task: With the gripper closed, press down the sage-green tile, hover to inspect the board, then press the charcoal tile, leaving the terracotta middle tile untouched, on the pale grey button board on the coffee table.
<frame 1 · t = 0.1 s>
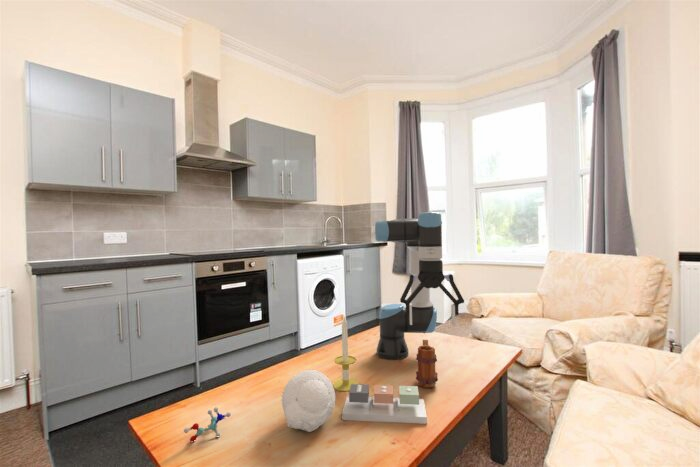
hand: (432, 324, 108), 28 cm above the table, fingers open, 13 cm apart
tile sage: (408, 394, 106), point 6 cm above the table, slide at 0.0 cm
mug: (426, 382, 128), on the table
board: (384, 412, 107), on the table
tile terracotta: (383, 393, 107), point 6 cm above the table, slide at 0.0 cm
tile charcoal: (359, 392, 108), point 6 cm above the table, slide at 0.0 cm
white rounded lump: (311, 425, 101), on the table
candle: (345, 385, 127), on the table
molecular model: (211, 437, 97), on the table
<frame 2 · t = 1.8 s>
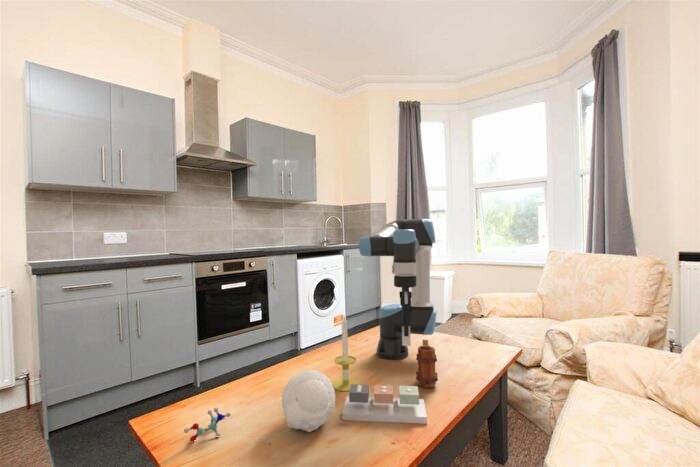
hand: (406, 344, 112), 20 cm above the table, fingers closed
nothing on the table moved.
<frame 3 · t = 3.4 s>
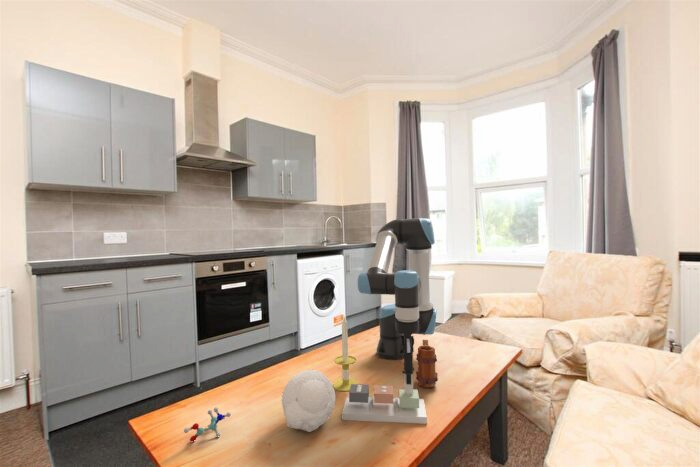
hand: (408, 392, 106), 7 cm above the table, fingers closed
tile sage: (408, 398, 106), point 5 cm above the table, slide at 1.1 cm, touching gripper
everything else where it was.
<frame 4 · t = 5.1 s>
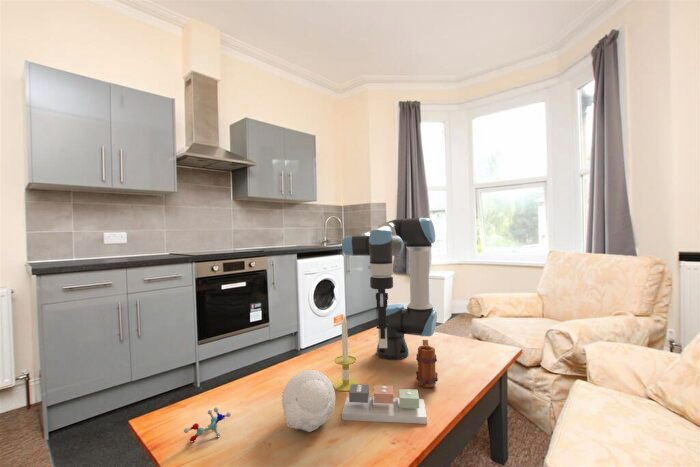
hand: (383, 347, 109), 20 cm above the table, fingers closed
tile sage: (408, 398, 106), point 5 cm above the table, slide at 1.1 cm
everything else where it was.
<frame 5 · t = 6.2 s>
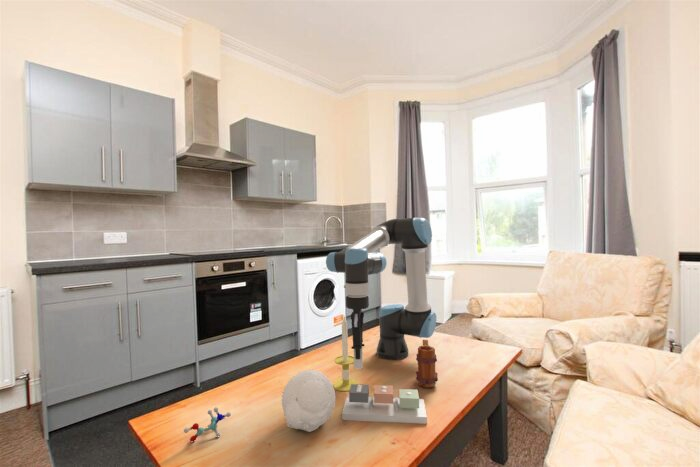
hand: (358, 367, 108), 14 cm above the table, fingers closed
nothing on the table moved.
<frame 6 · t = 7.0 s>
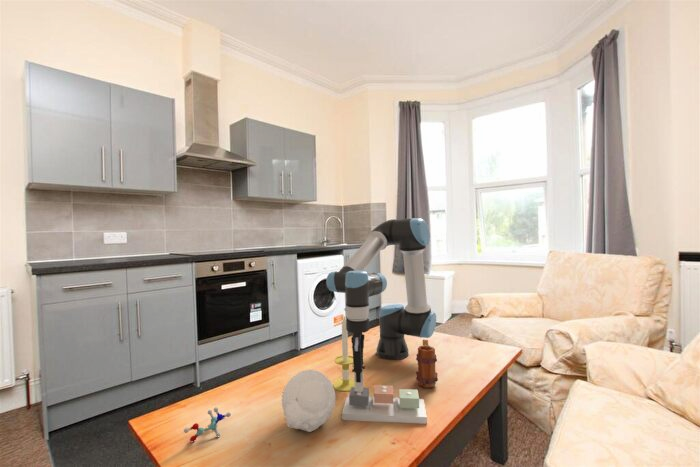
hand: (359, 390, 108), 7 cm above the table, fingers closed
tile charcoal: (359, 395, 108), point 5 cm above the table, slide at 1.0 cm, touching gripper
everything else where it was.
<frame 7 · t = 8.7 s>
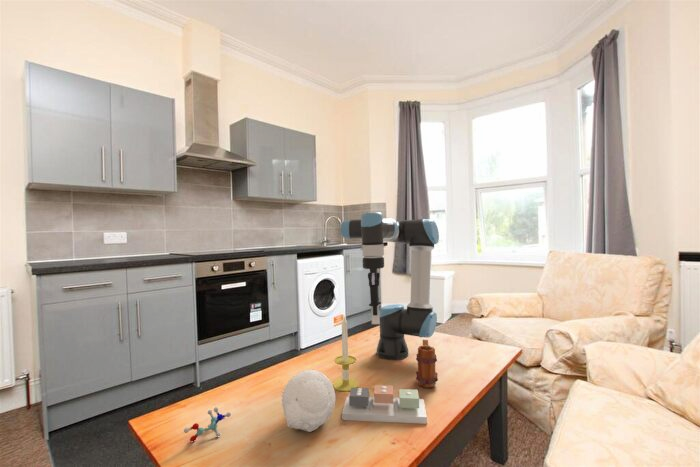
hand: (375, 323, 116), 26 cm above the table, fingers closed
tile charcoal: (359, 396, 108), point 5 cm above the table, slide at 1.1 cm
everything else where it was.
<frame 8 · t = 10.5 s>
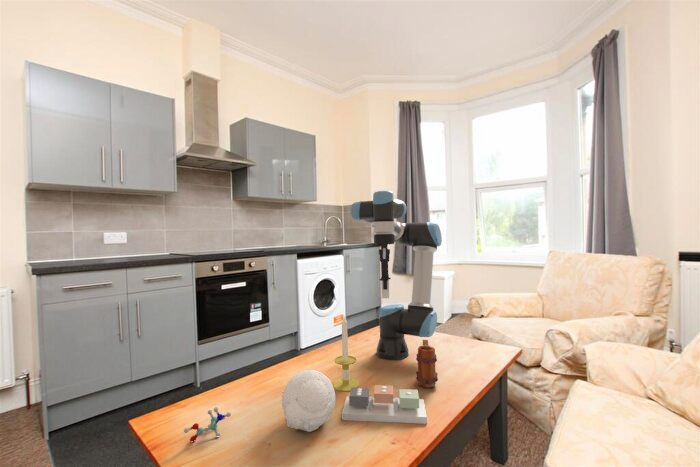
hand: (385, 297, 121), 34 cm above the table, fingers closed
nothing on the table moved.
at the end: tile sage slide at 1.1 cm; tile charcoal slide at 1.1 cm; tile terracotta slide at 0.0 cm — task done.
